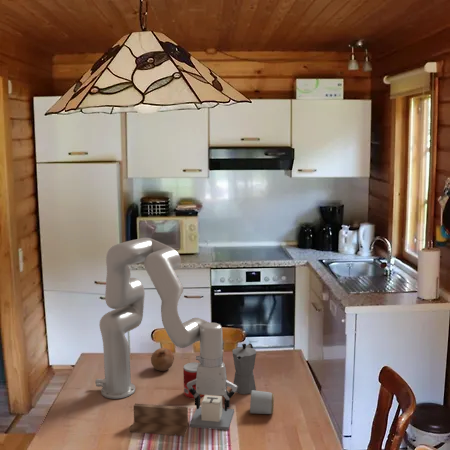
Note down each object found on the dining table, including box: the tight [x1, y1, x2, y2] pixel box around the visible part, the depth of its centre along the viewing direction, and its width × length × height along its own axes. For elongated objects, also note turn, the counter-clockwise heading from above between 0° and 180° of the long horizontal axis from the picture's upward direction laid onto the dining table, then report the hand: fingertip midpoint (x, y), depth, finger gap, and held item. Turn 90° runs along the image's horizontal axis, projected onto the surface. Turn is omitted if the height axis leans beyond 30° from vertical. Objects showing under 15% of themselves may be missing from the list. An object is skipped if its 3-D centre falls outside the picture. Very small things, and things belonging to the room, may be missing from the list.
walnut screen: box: [129, 403, 189, 437], centre depth 179 cm, size 18×6×7 cm, turn 80°
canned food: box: [182, 362, 205, 400], centre depth 203 cm, size 8×8×11 cm
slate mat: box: [189, 406, 235, 431], centre depth 185 cm, size 13×12×1 cm
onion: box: [150, 347, 175, 372], centre depth 225 cm, size 10×9×10 cm
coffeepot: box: [232, 342, 257, 395], centre depth 207 cm, size 15×9×18 cm, turn 159°
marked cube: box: [200, 395, 223, 422], centre depth 185 cm, size 6×6×6 cm
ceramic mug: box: [249, 390, 275, 415], centre depth 191 cm, size 11×8×8 cm
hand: (212, 408), depth 185 cm, fingers open, 9 cm apart
